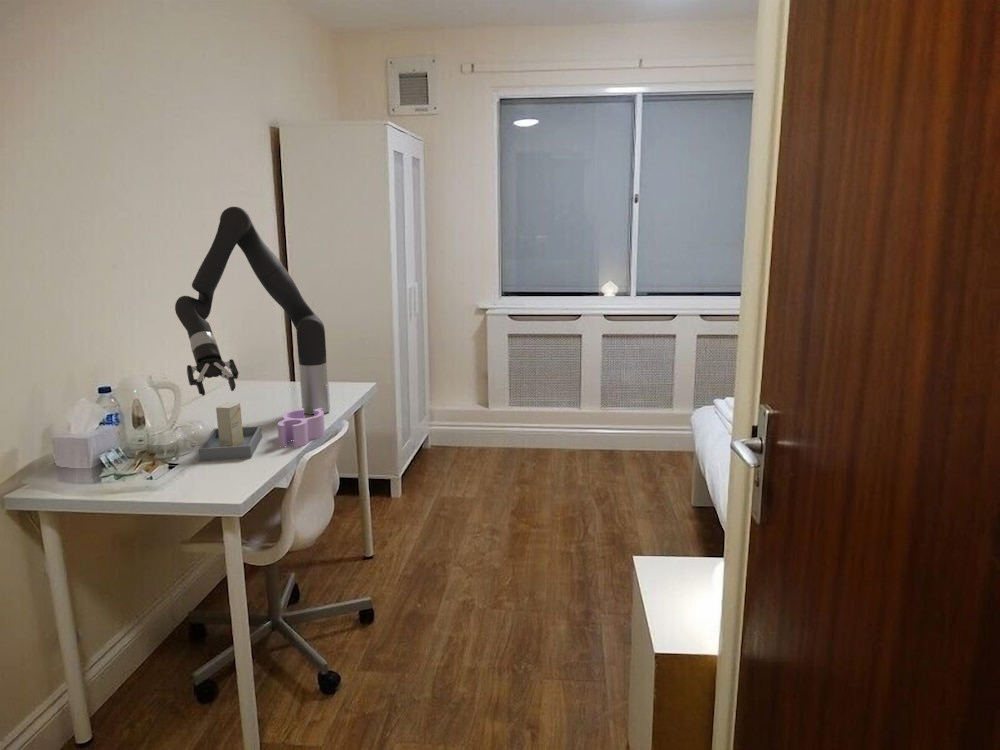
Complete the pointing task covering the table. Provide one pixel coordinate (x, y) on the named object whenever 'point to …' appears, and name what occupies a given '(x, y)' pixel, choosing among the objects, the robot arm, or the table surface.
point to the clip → (300, 427)
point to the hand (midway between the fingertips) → (218, 391)
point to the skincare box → (229, 424)
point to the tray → (244, 450)
